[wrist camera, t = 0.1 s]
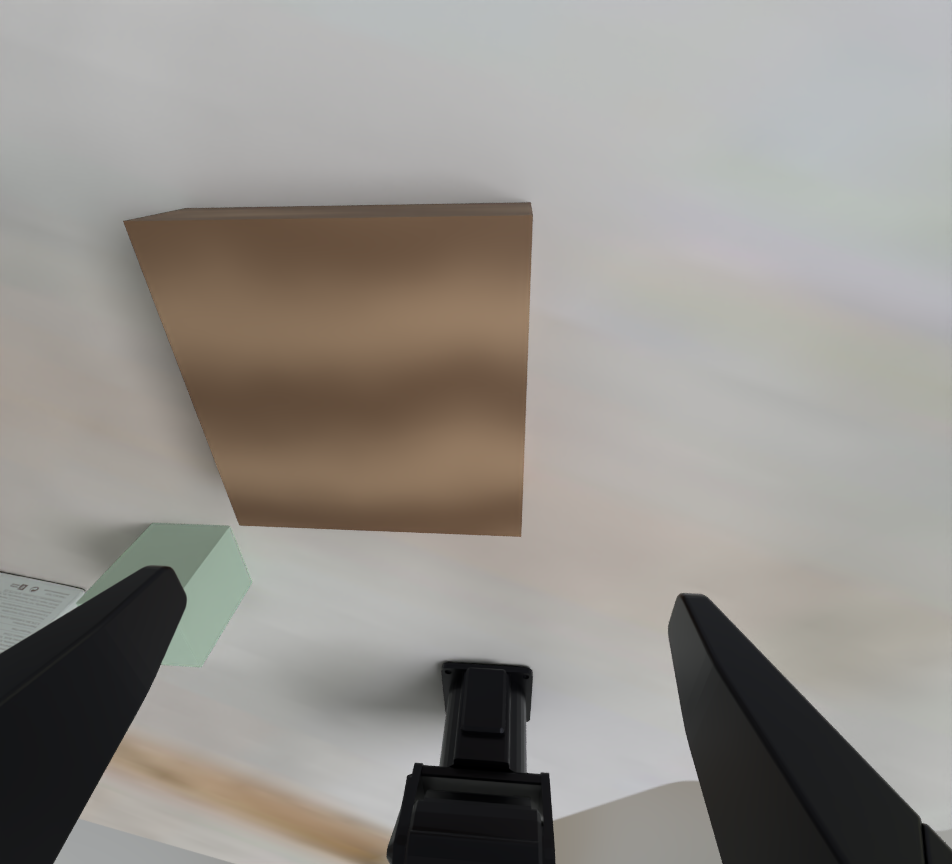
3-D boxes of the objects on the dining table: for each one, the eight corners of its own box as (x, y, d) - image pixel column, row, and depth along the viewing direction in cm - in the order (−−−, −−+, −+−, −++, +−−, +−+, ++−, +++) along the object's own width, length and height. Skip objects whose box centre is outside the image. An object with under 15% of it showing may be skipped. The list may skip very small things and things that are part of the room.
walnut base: (521, 484, 26) (521, 536, 23) (274, 477, 27) (239, 525, 24) (530, 201, 19) (532, 215, 15) (191, 207, 20) (123, 221, 16)
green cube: (252, 581, 31) (201, 667, 26) (181, 578, 32) (117, 662, 27) (230, 525, 29) (168, 608, 24) (152, 522, 29) (75, 603, 24)
